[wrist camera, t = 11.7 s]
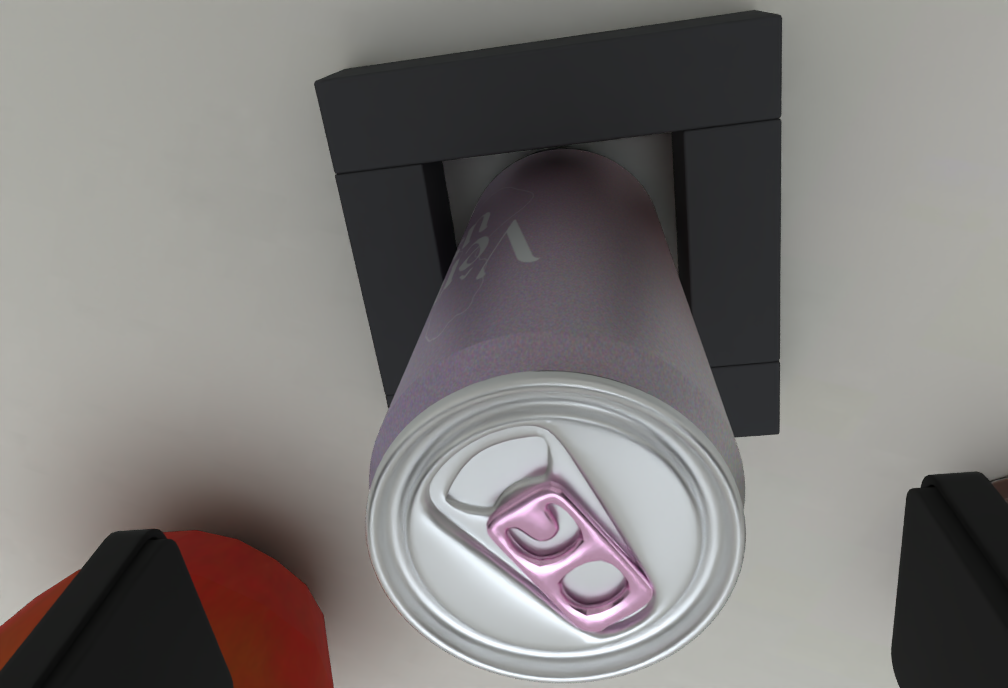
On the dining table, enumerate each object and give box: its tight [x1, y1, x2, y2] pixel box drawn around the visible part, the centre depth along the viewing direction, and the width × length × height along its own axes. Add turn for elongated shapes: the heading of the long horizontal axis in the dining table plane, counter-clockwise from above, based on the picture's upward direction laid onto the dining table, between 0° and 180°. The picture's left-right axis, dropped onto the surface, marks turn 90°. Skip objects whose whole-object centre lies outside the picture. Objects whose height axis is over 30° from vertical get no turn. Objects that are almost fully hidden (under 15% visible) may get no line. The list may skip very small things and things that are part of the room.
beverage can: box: [365, 149, 746, 683], centre depth 18 cm, size 6×6×15 cm
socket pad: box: [314, 10, 782, 437], centre depth 24 cm, size 12×12×3 cm
